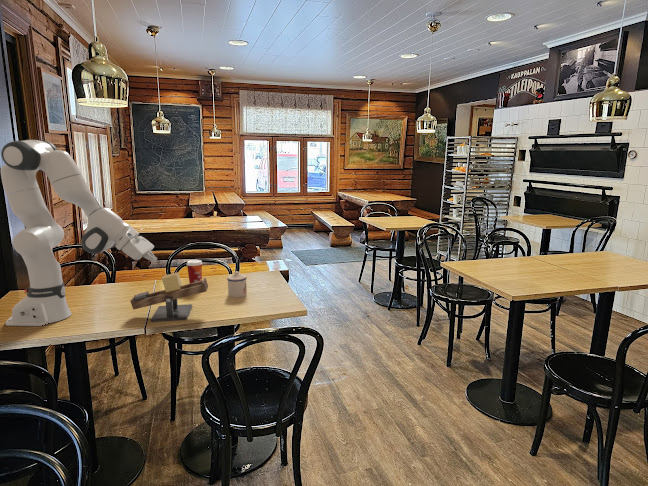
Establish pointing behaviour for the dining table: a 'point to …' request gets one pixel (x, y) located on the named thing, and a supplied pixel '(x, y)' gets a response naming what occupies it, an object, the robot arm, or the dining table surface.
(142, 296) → the counterweight
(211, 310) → the dining table surface
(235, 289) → the teacup with lid
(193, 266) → the paper cup
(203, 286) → the beam
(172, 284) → the rider
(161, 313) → the stand
